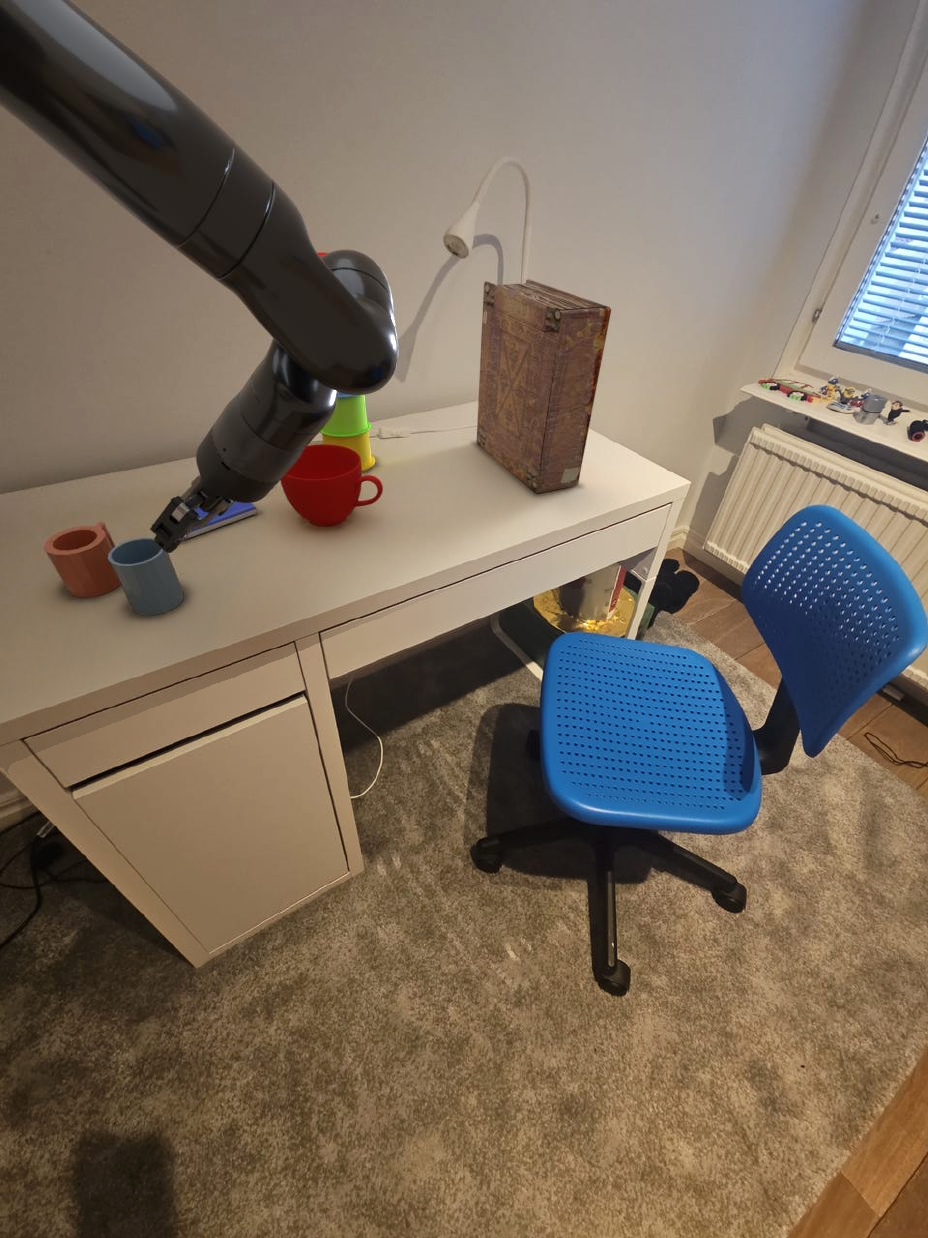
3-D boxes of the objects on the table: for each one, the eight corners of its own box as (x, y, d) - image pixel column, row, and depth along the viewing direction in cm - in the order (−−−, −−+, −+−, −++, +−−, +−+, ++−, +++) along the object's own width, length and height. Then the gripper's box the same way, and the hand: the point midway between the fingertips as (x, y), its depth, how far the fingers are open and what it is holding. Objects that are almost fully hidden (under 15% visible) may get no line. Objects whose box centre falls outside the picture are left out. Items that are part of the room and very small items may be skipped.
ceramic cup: (368, 548, 84) (362, 490, 77) (272, 529, 87) (259, 471, 81) (399, 509, 93) (396, 454, 87) (312, 493, 97) (303, 439, 90)
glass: (173, 615, 71) (152, 566, 65) (123, 615, 70) (98, 565, 65) (190, 586, 76) (172, 537, 70) (144, 585, 75) (122, 536, 70)
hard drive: (232, 488, 94) (160, 512, 87) (255, 505, 90) (181, 532, 83) (234, 496, 95) (163, 520, 88) (257, 514, 91) (184, 540, 84)
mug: (110, 597, 73) (88, 554, 68) (57, 597, 73) (32, 554, 68) (142, 556, 81) (124, 514, 76) (94, 555, 80) (73, 514, 76)
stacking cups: (311, 464, 106) (277, 252, 83) (351, 449, 112) (330, 247, 89) (345, 481, 101) (319, 261, 78) (386, 464, 107) (372, 255, 84)
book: (475, 442, 116) (483, 280, 97) (513, 436, 119) (527, 278, 100) (537, 494, 99) (561, 310, 79) (578, 486, 102) (611, 306, 83)
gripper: (267, 390, 56) (205, 475, 66) (169, 442, 45) (113, 533, 55) (320, 448, 58) (252, 521, 68) (238, 510, 48) (172, 585, 58)
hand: (190, 526), depth 62 cm, fingers open, 8 cm apart
